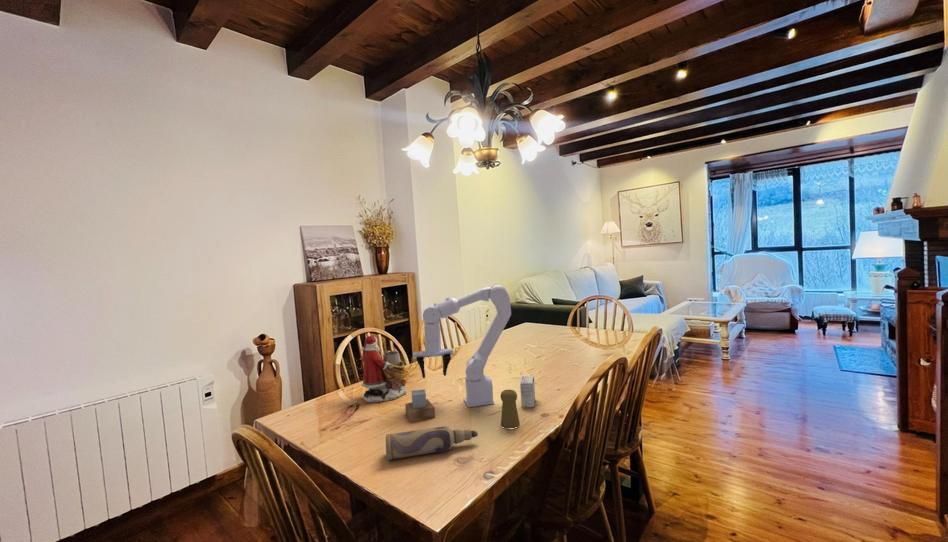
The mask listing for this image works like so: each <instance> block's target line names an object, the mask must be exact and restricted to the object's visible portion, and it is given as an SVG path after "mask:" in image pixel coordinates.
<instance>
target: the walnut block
mask: <svg viewBox="0 0 948 542" xmlns="http://www.w3.org/2000/svg"><path fill="white" fill-rule="evenodd" d="M404 406H405V415H406V417H407V418H408V419H409V421H410V422H411V424H412V423H413V424H414V423H417V422H423V421H426V420H432V419H435V418H436V410H435V408H436V407H435V406H434V405H433V404H432V402H431V401H430V400H429V399H427V398H426V407H422V408H414V409H413V405H412V402H408V403H405V405H404Z"/></svg>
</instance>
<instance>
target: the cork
mask: <svg viewBox="0 0 948 542" xmlns="http://www.w3.org/2000/svg"><path fill="white" fill-rule="evenodd" d="M500 399H501V401H502V404H501V405H502V406H501V417H500V427H501V426H502V427H504V428H515V427H518V426H519V425H520V424H521V423H520V419H519V412H518V408H517V399H518V394H517V392H516V390H514V389H504V390H502V391H501V392H500ZM520 426H521V425H520ZM520 426H519V427H520ZM502 427H501V428H502ZM519 427H518V428H519ZM504 428H503V429H504Z"/></svg>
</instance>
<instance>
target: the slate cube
mask: <svg viewBox="0 0 948 542" xmlns="http://www.w3.org/2000/svg"><path fill="white" fill-rule="evenodd" d="M410 393H411V403H412V405H413V409H414V408H422V407H426V399H427V395H426V390H425V389H417V390H411V392H410Z"/></svg>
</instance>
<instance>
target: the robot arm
mask: <svg viewBox="0 0 948 542" xmlns="http://www.w3.org/2000/svg"><path fill="white" fill-rule="evenodd" d="M489 300H490V301H491V302H492V304H493V305H494V307H495V310H496V315H495V316H494V319H493V320H492V322H491V324H490V326H488V327H489V328H488V329H487V331H486V333H485V335H484V337H483V339H482V340H481V343H480V345H479V346H478V348H477V349H476V351H475V352H474V354H473V356H471V357H469V358H468V359H467V361H466V369H465V375H466V376H465V378H464V379H465V393H466V394H465V396H466V397H464V398H463V401H464V402H465V404H466V405H467V407H468V408H473V407H479V406H480V407H481V406H486V405H492V404H494V403H495V402H494V389H493V382H492V381H493V380H492V378H491V377H490V376H488V375H487V376H486V374H484V373H485V372H484V369H485V367H486V365H487V362H488V359H489V356H490V355H491V354H492V352H493V350H494V348H495V345H496V343H497V342H498V340H499V338H500V337H501V335H502V333H503V331H504V329H505V327H506V325H507V324H508V322H509V320H510V317H511V316H512V307H511V297H510V296H509V294H508V291H507V289H506V287H505V286H503V285H502V284H498V283H495V284H493V285H492V286H486V287H484V288H483V287H481V288H480V289H477V290H475V291H473V292H471V293H469V294H466V295H464V296H461V297H460V298H458V299H457V298H454V297H446V298H445V300H443V301H441V302H438V303H437V302H435V303H433V305H429V306H428V307H426V308H425V309H424V310H423V313H422V320H423V321H424V323H423V324H424V328H423V329H424V330H423V332H424V333H423V334H424V350H421V351H416V352H412V358H413V360H414V359H415V360H416V363H417V365H419V368H420V370H421V371H420V372H421V377H422V379H426V373H425V359H424V358H432V357H433V358H435V357H440V356H441V358H442V374H443V376H444V377H446V376H447V372H448V371H447V370H448V367H449V363H450V362H451V360H452V356H453V355H454V349H453V348H442V345H441V340H442V339H441V325H440V319H444V318H447V317H449V316H452V315H455V314H458V313H459V311H460V309H461V308H463V307H465V306H468V305H471V304H473V303H477V302H479V301H484V302H487V303H488V302H489Z"/></svg>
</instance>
